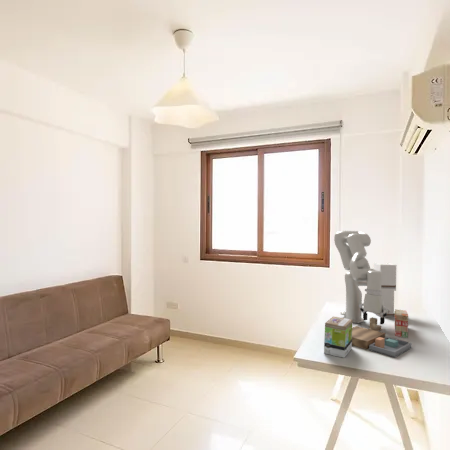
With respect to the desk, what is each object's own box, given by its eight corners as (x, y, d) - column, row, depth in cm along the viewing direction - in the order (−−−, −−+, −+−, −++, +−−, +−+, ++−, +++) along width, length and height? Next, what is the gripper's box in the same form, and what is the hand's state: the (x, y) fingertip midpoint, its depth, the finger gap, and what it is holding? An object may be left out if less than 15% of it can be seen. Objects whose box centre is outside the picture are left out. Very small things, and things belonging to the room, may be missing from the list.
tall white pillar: (395, 317, 225) (396, 265, 225) (379, 316, 225) (380, 264, 225) (387, 312, 236) (388, 263, 236) (372, 312, 236) (373, 262, 236)
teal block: (394, 342, 166) (394, 347, 166) (398, 340, 169) (398, 345, 169) (385, 340, 169) (385, 345, 169) (389, 338, 172) (389, 343, 172)
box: (369, 350, 164) (369, 345, 164) (387, 341, 177) (387, 336, 177) (394, 357, 155) (394, 352, 155) (411, 347, 168) (411, 342, 168)
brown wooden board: (337, 340, 176) (337, 333, 176) (356, 333, 190) (356, 326, 190) (367, 349, 164) (367, 341, 164) (385, 340, 178) (385, 333, 178)
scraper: (363, 334, 188) (364, 320, 188) (377, 329, 199) (377, 315, 199) (369, 335, 186) (369, 321, 186) (382, 330, 196) (382, 316, 196)
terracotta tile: (375, 338, 165) (380, 340, 163) (379, 336, 168) (384, 338, 166) (375, 347, 165) (380, 349, 163) (379, 345, 168) (384, 347, 166)
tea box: (345, 358, 153) (346, 326, 153) (323, 353, 158) (323, 322, 158) (352, 348, 166) (352, 318, 166) (331, 344, 171) (332, 315, 171)
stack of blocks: (394, 325, 205) (394, 305, 205) (405, 327, 202) (406, 307, 202) (395, 336, 186) (395, 313, 186) (407, 337, 183) (408, 315, 183)
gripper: (356, 290, 196) (355, 319, 196) (386, 295, 183) (386, 326, 183) (362, 289, 201) (362, 317, 201) (392, 294, 188) (391, 324, 188)
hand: (373, 322), depth 192 cm, fingers open, 9 cm apart
